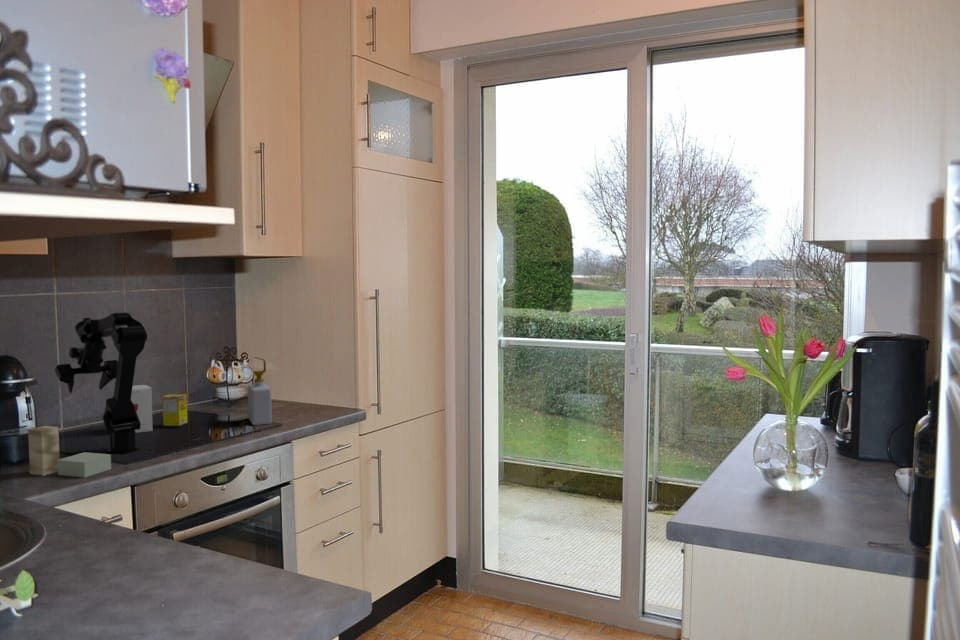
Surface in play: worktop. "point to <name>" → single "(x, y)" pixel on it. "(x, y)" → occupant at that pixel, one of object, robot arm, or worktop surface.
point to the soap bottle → (259, 400)
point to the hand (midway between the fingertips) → (85, 390)
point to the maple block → (43, 450)
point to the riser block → (84, 464)
